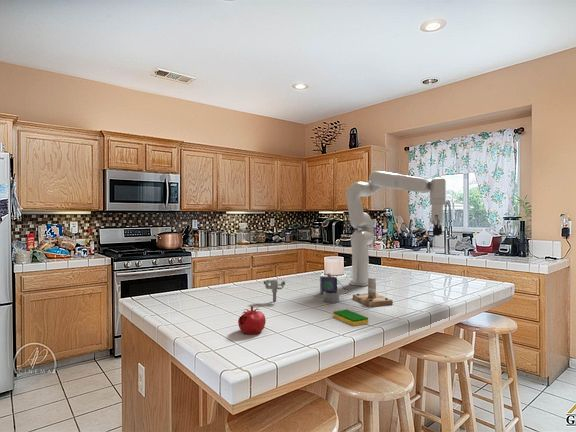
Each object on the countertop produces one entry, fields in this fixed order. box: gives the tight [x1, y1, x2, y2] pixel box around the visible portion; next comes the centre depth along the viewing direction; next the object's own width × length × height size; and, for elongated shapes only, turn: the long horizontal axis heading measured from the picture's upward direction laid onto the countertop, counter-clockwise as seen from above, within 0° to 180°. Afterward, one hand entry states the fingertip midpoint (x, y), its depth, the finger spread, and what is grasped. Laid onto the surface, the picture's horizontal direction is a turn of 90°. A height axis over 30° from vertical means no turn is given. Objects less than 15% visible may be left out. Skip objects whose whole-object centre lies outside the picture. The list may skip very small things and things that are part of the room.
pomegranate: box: [237, 305, 267, 335], centre depth 130 cm, size 10×10×9 cm
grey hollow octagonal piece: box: [322, 290, 340, 304], centre depth 172 cm, size 7×7×4 cm
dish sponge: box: [332, 309, 369, 326], centre depth 143 cm, size 7×14×2 cm, turn 28°
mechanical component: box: [263, 279, 286, 303], centre depth 171 cm, size 3×10×10 cm, turn 79°
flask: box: [319, 273, 338, 295], centre depth 187 cm, size 9×3×11 cm, turn 65°
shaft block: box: [352, 277, 394, 307], centre depth 171 cm, size 16×12×11 cm
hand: (437, 235), depth 186 cm, fingers open, 9 cm apart
